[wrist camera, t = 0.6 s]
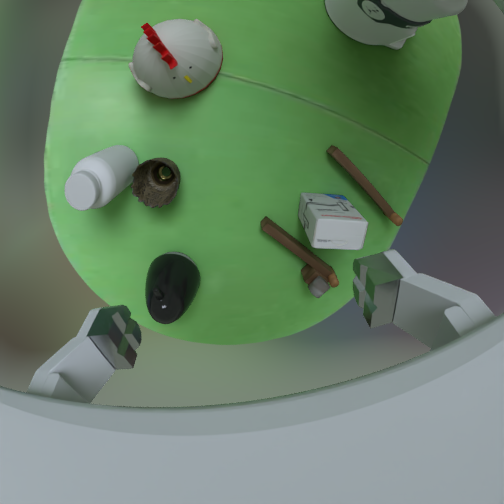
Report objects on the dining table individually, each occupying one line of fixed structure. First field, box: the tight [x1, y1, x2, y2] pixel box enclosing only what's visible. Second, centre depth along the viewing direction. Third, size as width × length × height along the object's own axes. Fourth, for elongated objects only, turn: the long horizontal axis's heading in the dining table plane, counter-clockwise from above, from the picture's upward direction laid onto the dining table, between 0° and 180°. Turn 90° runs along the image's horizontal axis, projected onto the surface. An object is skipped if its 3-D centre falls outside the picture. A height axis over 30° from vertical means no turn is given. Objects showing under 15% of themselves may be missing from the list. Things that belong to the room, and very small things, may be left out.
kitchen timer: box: [129, 19, 223, 99], centre depth 27 cm, size 14×14×15 cm
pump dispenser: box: [145, 252, 200, 324], centre depth 47 cm, size 10×10×15 cm
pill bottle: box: [65, 145, 139, 211], centre depth 36 cm, size 8×8×15 cm
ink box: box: [298, 193, 368, 250], centre depth 43 cm, size 9×5×12 cm, turn 87°
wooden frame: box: [261, 145, 403, 298], centre depth 47 cm, size 22×19×7 cm
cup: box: [131, 158, 180, 208], centre depth 40 cm, size 8×7×8 cm
